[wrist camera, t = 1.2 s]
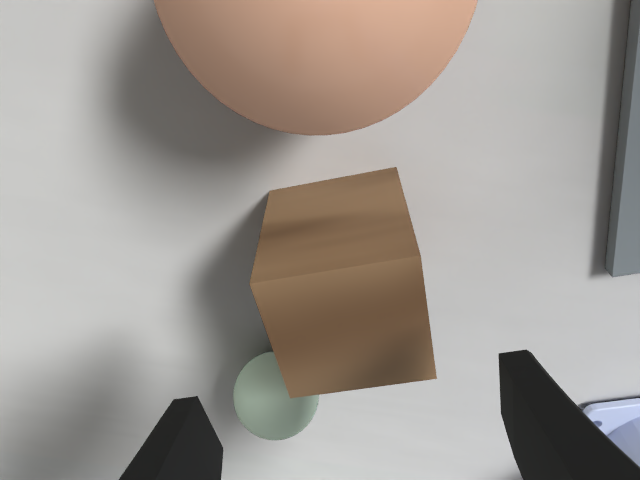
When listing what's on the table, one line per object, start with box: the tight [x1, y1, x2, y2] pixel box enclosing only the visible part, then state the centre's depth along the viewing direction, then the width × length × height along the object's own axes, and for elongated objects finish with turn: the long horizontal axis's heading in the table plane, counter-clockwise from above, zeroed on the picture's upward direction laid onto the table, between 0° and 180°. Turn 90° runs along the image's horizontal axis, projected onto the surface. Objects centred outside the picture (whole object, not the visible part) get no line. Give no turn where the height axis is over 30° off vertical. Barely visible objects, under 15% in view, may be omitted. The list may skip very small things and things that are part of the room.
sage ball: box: [233, 351, 319, 440], centre depth 21 cm, size 4×4×4 cm
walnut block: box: [249, 167, 437, 398], centre depth 17 cm, size 4×4×6 cm
